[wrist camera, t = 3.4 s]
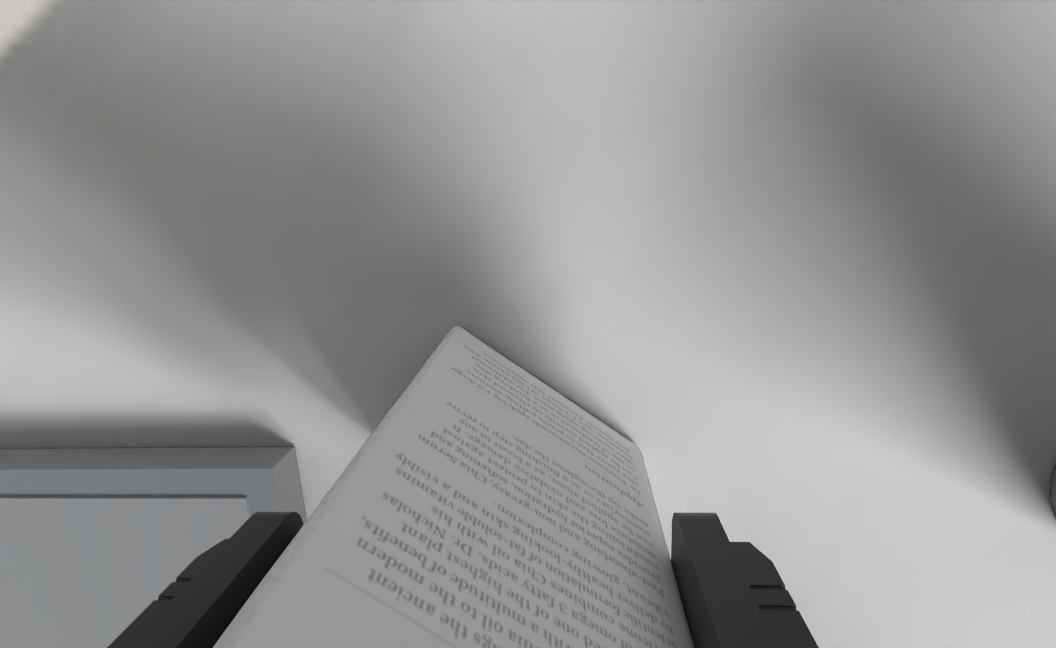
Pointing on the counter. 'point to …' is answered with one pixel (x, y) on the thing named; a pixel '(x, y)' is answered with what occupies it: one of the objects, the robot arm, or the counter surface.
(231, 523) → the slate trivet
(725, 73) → the counter surface
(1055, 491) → the beverage cup
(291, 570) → the skincare box
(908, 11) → the counter surface
